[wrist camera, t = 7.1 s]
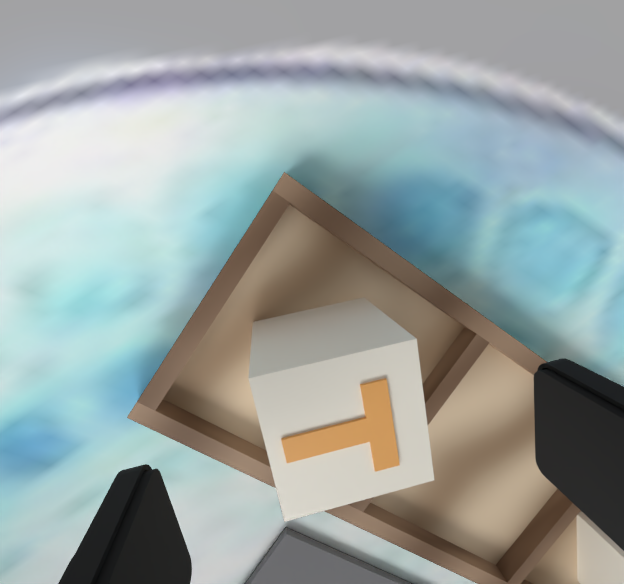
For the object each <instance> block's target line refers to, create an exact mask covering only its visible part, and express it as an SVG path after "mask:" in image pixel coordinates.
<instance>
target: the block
mask: <svg viewBox="0 0 624 584" xmlns="http://www.w3.org/2000/svg"><path fill="white" fill-rule="evenodd" d="M577 580H578V581H579V583H580V584H624V551H623V550H622V549H621V548H620V547H619V546H618V545H617V544H616V543H615V542H614V541H613V540H612V539H610V538H609V537H608V536H607V535H606V534H605V533H604V532H603V531H602V530H601V529H600V528H599V527H598V526H597V525H596V524H595V523H594V522H592V521H591V520H590V519H589V518H588V517H587V516H586V515H585V514H584V513H583V512H579V514H578V515H577Z"/></svg>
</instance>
